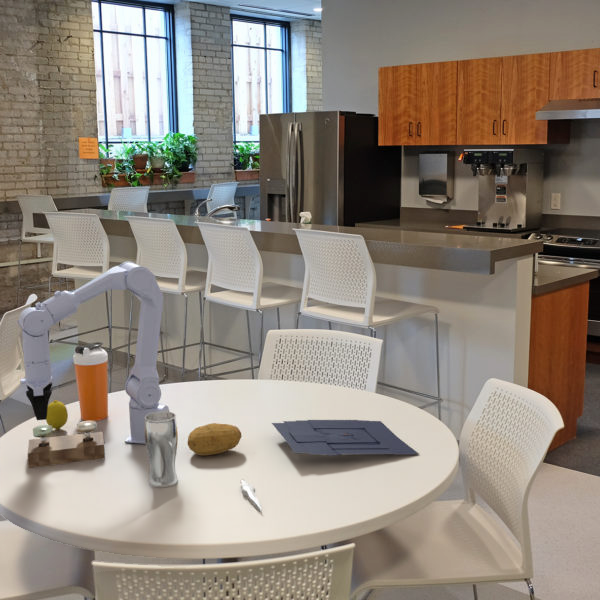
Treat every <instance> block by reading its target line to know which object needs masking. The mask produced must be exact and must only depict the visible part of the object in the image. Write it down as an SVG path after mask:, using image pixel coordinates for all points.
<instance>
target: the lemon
mask: <svg viewBox="0 0 600 600" xmlns="http://www.w3.org/2000/svg"><path fill="white" fill-rule="evenodd" d="M68 415H69V414H68V409H67V407H66V405H65V404H64V403H63V402H62V401H58V400H57V399H54V400H53V401H51V402H50V403H48V410H47V418H46V420H45V422H46V425H50V426H52V427H53V429H55V430H56V431H59V430H60V429H61V428H63V427H64V426H65V425H66V424H67V422H68V417H69V416H68Z"/></svg>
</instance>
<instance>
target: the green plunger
mask: <svg viewBox="0 0 600 600" xmlns="http://www.w3.org/2000/svg"><path fill="white" fill-rule="evenodd" d="M53 430H54V428H53V427H52V426H50V425H48V424H45V425H44V424H43V425H38V426H34V428H33V429H32V436H33V437H34V438H38V439H40V438H41V446H42V447H44V446H47V441H46V438H49V437H51V436H52V435H53V434H54V431H53Z"/></svg>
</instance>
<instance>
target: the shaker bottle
mask: <svg viewBox="0 0 600 600" xmlns="http://www.w3.org/2000/svg"><path fill="white" fill-rule="evenodd" d="M102 345H104V343H103V342H96V341H95V342H91V343H86V344H85V345H77V346H75V347H74V355H73V356H72V359H73V364H74V370H75V377H76V378H75V379H76V387H77V393H78V394H77V395H78V402H79V411H80V418H81V420H82V421H85V420H86V421H89V420H90V421H95V422H97V421H102V420H104V419H106V418H108V416H109V399H108V398H109V397H108V392H109V391H108V390H109V389H108V388H109V387H108V385H109V384H108V383H109V382H108V381H109V380H108V361H109V358H108V357H109V356H108V352H107V351H106V350H105V349H103V348H102Z"/></svg>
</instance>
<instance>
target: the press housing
mask: <svg viewBox="0 0 600 600" xmlns="http://www.w3.org/2000/svg"><path fill="white" fill-rule="evenodd" d="M90 437H91V441H88V442H86V441H85V433H80V434H79V433H78V434H68V435H60V436H59V435H58V436H48V437H46V441H47V446H44V447H42V446H41V438H33V439H28V446H27V461H28V462H27V463H28V468H29V469H31V468H39V467H40V468H41V467H47V466H55V465H56V466H57V465H64V464H72V463H80V462H89V461H90V462H91V461H97V460H105V459H106V453H105V443H104V440H105V439H104V435H103V431H96V432H95V431H93V432H90Z"/></svg>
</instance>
